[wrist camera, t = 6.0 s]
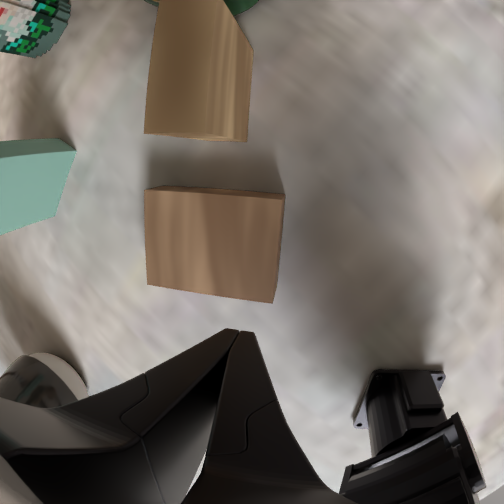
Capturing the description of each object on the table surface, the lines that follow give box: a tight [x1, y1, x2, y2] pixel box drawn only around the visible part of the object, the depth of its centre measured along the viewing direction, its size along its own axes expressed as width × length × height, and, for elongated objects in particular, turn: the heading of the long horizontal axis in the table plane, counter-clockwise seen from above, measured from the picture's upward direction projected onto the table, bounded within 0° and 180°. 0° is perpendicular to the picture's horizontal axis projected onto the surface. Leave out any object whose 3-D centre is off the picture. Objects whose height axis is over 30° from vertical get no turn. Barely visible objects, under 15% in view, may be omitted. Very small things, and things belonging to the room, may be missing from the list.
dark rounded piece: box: [0, 353, 89, 408], centre depth 21 cm, size 10×10×15 cm
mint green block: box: [0, 138, 77, 235], centre depth 17 cm, size 3×6×8 cm, turn 148°
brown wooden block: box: [144, 186, 285, 303], centre depth 19 cm, size 3×6×8 cm
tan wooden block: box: [144, 0, 253, 142], centre depth 14 cm, size 3×6×8 cm, turn 177°
